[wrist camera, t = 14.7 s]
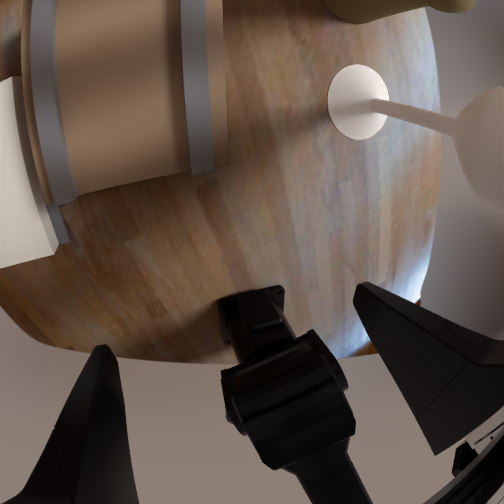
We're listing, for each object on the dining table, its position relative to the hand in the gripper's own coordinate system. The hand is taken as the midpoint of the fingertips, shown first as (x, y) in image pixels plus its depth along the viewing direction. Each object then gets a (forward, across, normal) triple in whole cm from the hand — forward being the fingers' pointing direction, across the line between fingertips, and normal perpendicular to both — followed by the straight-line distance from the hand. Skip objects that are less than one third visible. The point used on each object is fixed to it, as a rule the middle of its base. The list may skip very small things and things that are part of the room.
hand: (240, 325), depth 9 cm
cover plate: (+13, +14, -5) cm, 19 cm away
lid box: (+13, +4, -9) cm, 16 cm away
